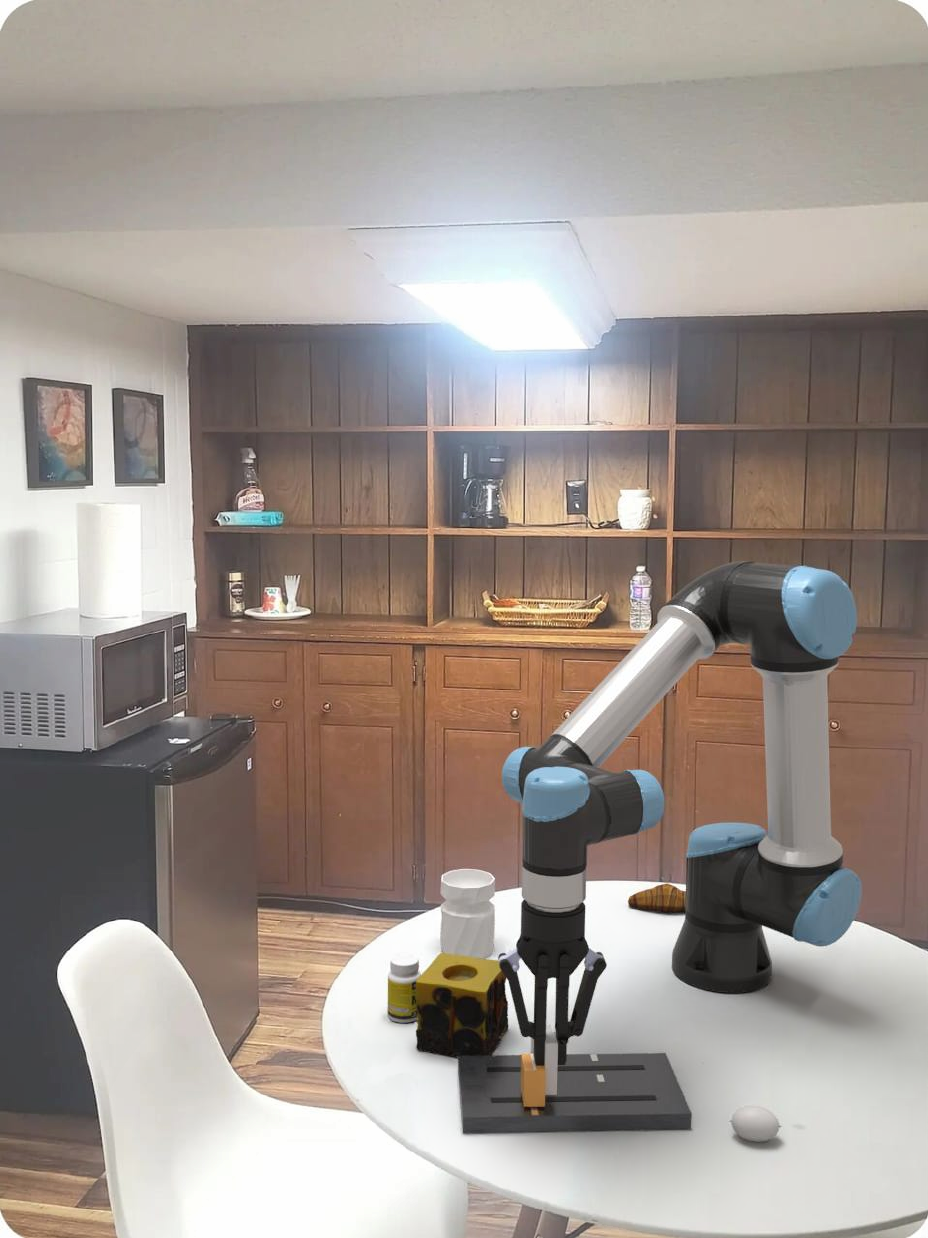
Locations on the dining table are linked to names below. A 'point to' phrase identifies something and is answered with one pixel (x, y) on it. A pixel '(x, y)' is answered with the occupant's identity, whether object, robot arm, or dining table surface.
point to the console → (574, 1095)
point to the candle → (461, 1006)
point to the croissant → (660, 899)
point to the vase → (467, 913)
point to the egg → (755, 1123)
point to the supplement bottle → (403, 988)
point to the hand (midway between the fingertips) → (549, 1088)
